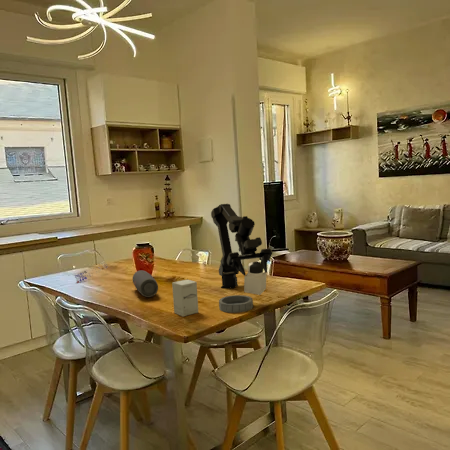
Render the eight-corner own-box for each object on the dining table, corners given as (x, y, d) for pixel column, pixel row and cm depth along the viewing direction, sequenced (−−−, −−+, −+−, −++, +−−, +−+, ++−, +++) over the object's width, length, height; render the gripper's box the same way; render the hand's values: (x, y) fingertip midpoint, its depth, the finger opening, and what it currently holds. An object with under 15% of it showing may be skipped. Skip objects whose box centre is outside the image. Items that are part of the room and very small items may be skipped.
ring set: (85, 288, 233) (76, 268, 232) (74, 291, 240) (65, 272, 239) (119, 269, 252) (111, 251, 251) (108, 273, 259) (100, 255, 258)
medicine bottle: (266, 288, 179) (267, 261, 175) (260, 295, 173) (261, 267, 169) (250, 285, 182) (250, 259, 178) (243, 292, 175) (244, 264, 172)
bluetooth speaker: (132, 290, 214) (130, 270, 213) (150, 287, 217) (149, 267, 216) (139, 301, 193) (137, 279, 192) (160, 298, 196) (158, 276, 195)
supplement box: (183, 317, 167) (180, 285, 166) (173, 312, 173) (171, 282, 172) (199, 312, 171) (197, 281, 170) (189, 308, 177) (187, 278, 176)
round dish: (213, 311, 172) (213, 303, 171) (227, 301, 184) (227, 294, 184) (245, 314, 166) (245, 305, 166) (257, 303, 178) (257, 296, 178)
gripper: (227, 233, 175) (238, 265, 166) (269, 229, 181) (282, 259, 171) (222, 249, 183) (232, 280, 174) (262, 245, 189) (274, 275, 180)
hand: (255, 273), depth 175 cm, fingers closed on medicine bottle, 9 cm apart
